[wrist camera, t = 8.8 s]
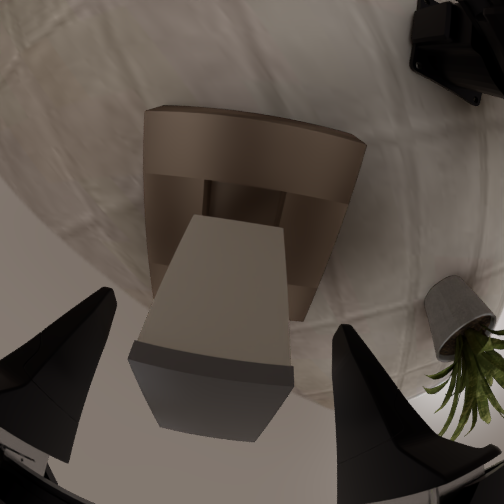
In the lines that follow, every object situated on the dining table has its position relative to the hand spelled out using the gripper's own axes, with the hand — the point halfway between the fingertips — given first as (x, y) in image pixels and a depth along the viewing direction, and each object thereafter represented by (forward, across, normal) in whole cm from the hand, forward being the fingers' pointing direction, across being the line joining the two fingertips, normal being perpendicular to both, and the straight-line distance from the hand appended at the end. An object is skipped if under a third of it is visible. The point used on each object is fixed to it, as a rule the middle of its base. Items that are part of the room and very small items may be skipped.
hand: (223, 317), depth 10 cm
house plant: (+11, -21, +7) cm, 25 cm away
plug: (+4, 0, +1) cm, 5 cm away
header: (+10, 0, +1) cm, 10 cm away
